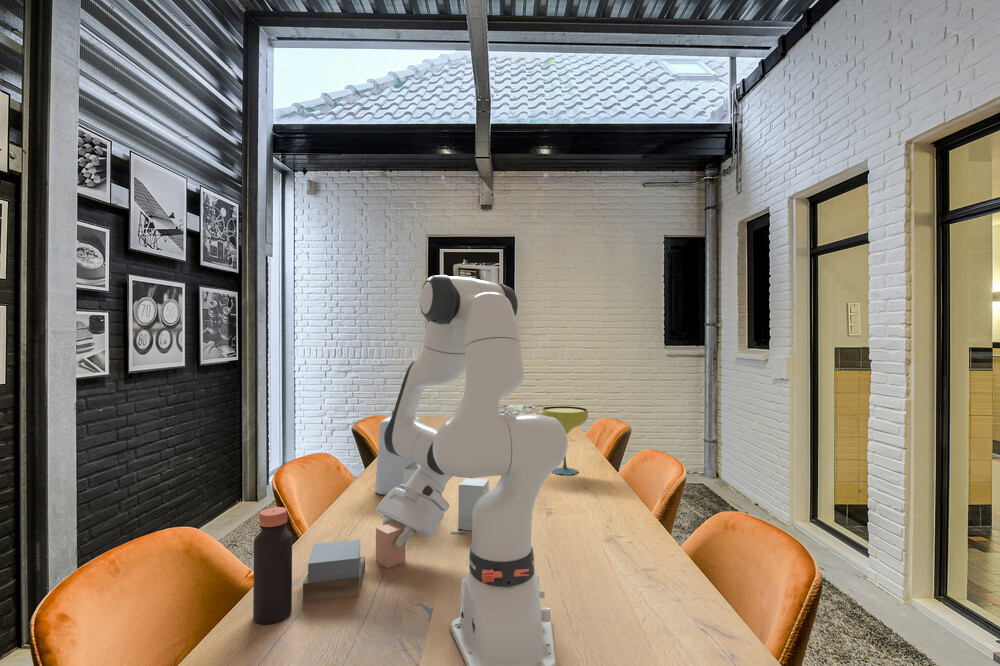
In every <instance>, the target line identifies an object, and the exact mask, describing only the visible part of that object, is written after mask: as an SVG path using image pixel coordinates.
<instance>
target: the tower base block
mask: <svg viewBox="0 0 1000 666" xmlns="http://www.w3.org/2000/svg"><path fill="white" fill-rule="evenodd" d="M365 574H366V556H363V555H362V556H360V568H359V577H357V578H349V579H340V580H332V581H323V582H315V583H308V573H307V575H306V576H305V578H304V581H303V582H302V602H309V601H324V600H336V599H338V600H339V599H348V598H349V599H351V598H359V596H360V593H361V589H362V585H363V581H364V577H365Z"/></svg>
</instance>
